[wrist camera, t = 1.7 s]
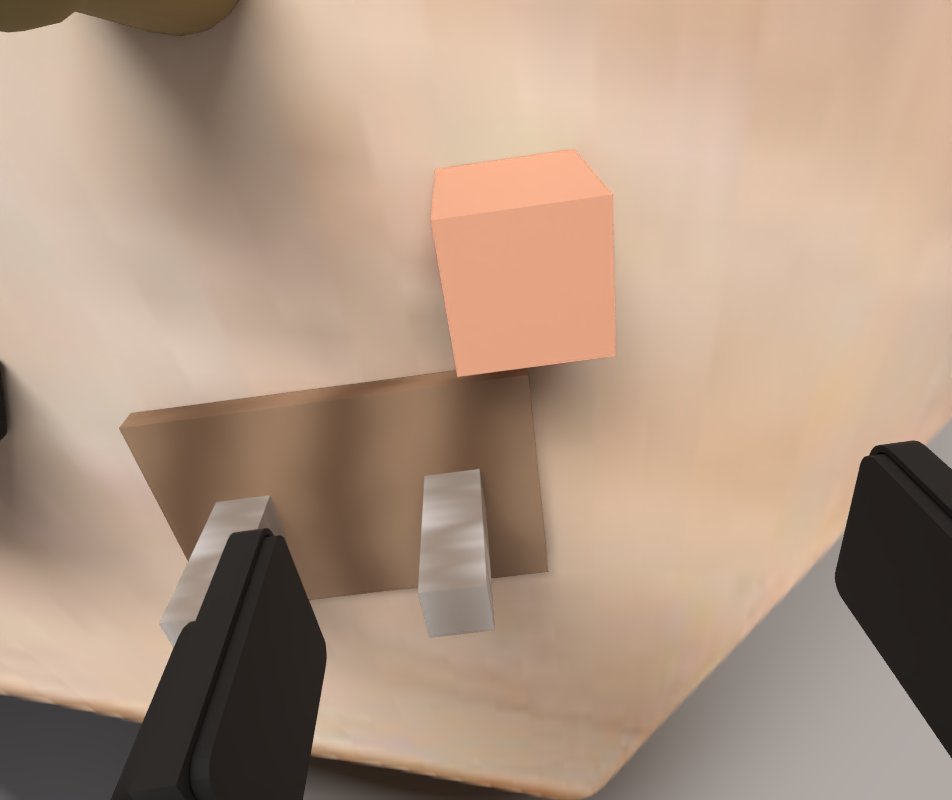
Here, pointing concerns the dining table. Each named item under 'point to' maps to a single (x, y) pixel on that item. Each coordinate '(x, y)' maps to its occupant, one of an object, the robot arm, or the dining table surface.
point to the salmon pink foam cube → (525, 262)
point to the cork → (118, 13)
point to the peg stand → (357, 488)
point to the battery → (2, 414)
